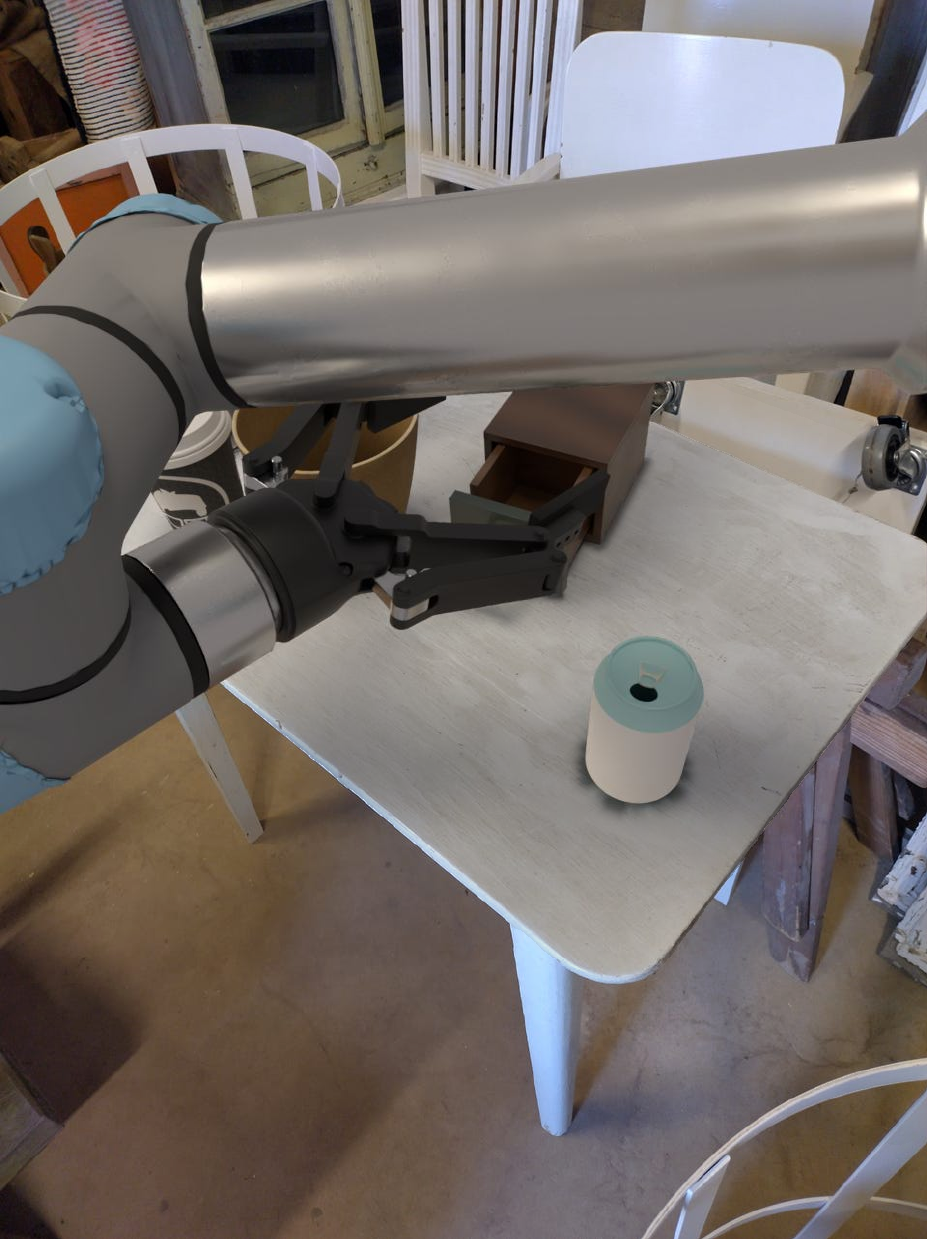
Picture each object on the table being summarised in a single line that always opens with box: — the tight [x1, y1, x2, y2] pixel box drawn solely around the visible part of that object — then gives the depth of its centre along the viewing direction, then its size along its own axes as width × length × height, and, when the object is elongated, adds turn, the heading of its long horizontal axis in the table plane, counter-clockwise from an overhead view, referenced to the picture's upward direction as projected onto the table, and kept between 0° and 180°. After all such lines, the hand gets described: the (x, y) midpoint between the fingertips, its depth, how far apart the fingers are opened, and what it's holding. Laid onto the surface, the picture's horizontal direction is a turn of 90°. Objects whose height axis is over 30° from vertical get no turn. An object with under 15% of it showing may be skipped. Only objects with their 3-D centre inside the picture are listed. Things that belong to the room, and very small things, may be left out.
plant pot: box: [232, 405, 420, 514], centre depth 71 cm, size 15×15×16 cm
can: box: [585, 635, 705, 804], centre depth 56 cm, size 7×7×12 cm
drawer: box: [448, 443, 598, 597], centre depth 71 cm, size 16×10×8 cm, turn 154°
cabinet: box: [482, 383, 656, 545], centre depth 77 cm, size 13×12×10 cm
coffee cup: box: [150, 411, 245, 531], centre depth 73 cm, size 10×10×15 cm
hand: (519, 431), depth 52 cm, fingers open, 13 cm apart
